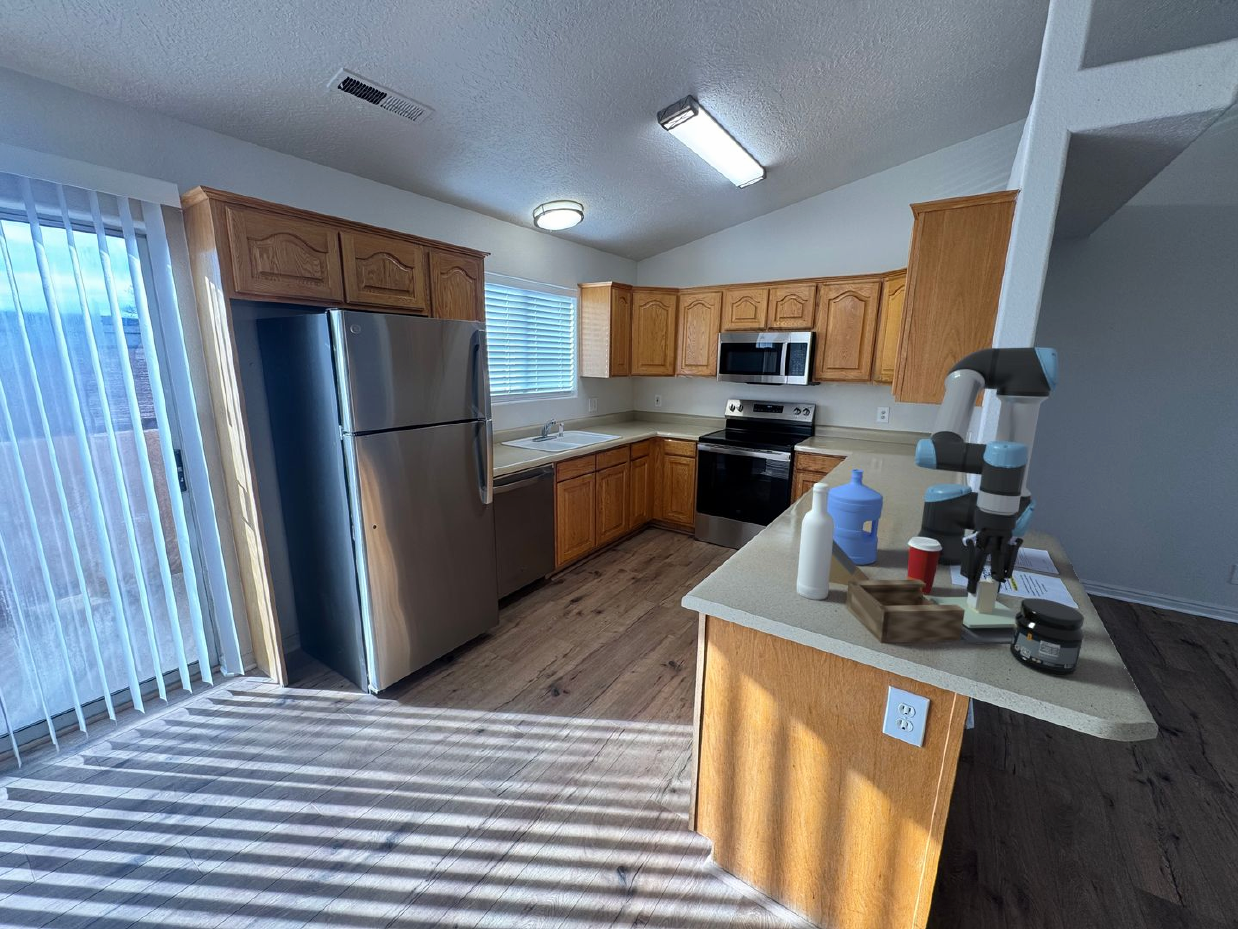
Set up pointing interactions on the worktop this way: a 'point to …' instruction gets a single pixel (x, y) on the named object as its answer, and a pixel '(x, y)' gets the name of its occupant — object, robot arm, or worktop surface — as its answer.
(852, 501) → the water jug
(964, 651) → the worktop surface
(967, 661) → the worktop surface
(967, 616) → the cover plate
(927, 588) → the paper cup
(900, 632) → the walnut box
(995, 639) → the charcoal mat
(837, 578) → the sandwich container
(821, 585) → the bottle
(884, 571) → the worktop surface
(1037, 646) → the supplement container
